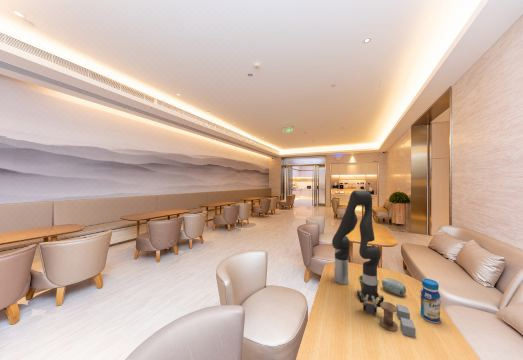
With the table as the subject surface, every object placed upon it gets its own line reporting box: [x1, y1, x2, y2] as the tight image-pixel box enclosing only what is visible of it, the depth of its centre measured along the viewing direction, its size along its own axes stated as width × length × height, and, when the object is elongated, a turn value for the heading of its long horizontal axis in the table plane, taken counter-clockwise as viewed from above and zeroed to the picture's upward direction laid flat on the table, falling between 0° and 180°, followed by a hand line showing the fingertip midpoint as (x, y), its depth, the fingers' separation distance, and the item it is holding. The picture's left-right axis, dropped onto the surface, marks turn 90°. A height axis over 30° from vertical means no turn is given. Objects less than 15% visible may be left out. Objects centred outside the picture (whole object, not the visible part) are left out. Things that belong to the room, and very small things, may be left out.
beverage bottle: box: [419, 278, 442, 324], centre depth 106 cm, size 8×8×20 cm
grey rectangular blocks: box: [395, 304, 416, 339], centre depth 102 cm, size 5×18×4 cm, turn 154°
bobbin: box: [378, 301, 399, 332], centre depth 101 cm, size 8×8×10 cm
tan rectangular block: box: [365, 300, 375, 316], centre depth 111 cm, size 4×4×7 cm
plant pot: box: [357, 274, 380, 298], centre depth 125 cm, size 12×12×11 cm
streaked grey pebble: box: [381, 277, 407, 297], centre depth 130 cm, size 14×10×10 cm
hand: (369, 311), depth 111 cm, fingers closed on tan rectangular block, 4 cm apart
